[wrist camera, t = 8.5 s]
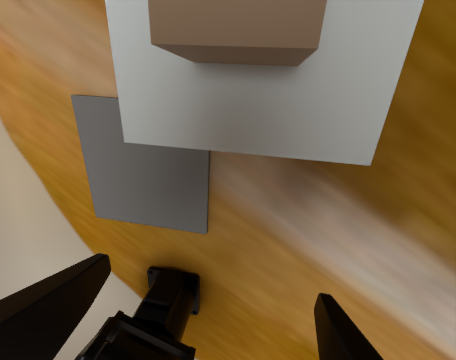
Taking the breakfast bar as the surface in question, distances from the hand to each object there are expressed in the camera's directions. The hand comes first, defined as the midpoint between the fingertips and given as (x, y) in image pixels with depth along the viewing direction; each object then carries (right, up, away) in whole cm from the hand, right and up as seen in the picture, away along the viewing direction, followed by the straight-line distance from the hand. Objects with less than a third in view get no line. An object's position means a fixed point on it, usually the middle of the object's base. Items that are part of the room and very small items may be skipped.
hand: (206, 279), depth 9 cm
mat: (-7, +5, +12) cm, 15 cm away
